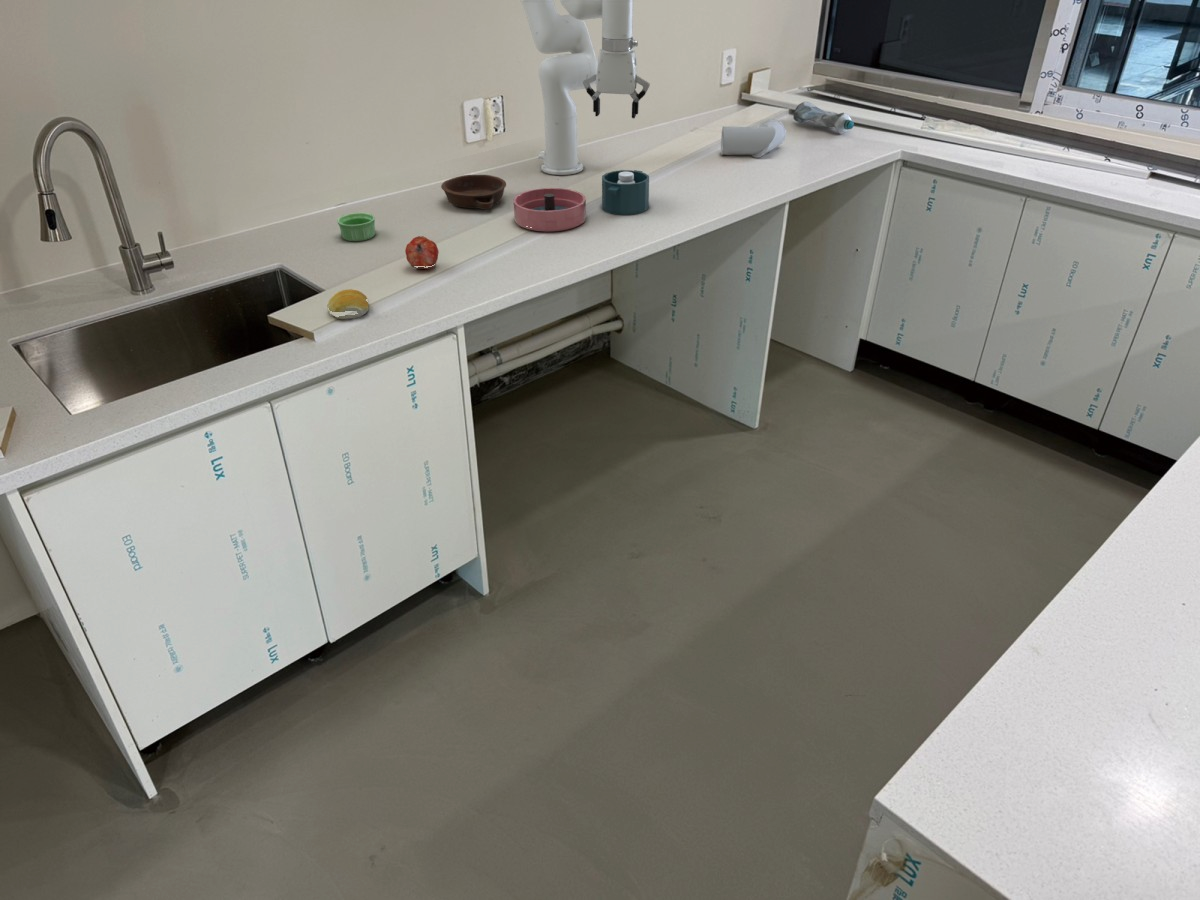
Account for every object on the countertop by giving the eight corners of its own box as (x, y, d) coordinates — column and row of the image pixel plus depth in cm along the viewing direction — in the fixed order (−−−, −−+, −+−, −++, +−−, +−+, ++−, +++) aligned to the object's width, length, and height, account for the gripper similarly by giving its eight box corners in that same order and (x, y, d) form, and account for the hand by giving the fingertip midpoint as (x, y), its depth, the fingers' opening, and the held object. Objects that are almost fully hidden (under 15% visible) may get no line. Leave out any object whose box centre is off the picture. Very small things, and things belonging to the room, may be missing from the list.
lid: (515, 223, 215) (513, 199, 212) (539, 207, 225) (538, 184, 222) (561, 230, 210) (560, 206, 207) (584, 213, 220) (584, 190, 217)
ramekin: (343, 230, 213) (340, 213, 211) (379, 228, 214) (376, 211, 211) (337, 243, 206) (334, 225, 203) (374, 241, 207) (372, 224, 204)
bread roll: (367, 299, 179) (364, 281, 177) (371, 317, 172) (368, 299, 170) (327, 304, 177) (323, 286, 175) (329, 322, 170) (325, 304, 168)
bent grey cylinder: (765, 160, 255) (791, 145, 269) (761, 124, 250) (788, 110, 264) (713, 165, 265) (740, 150, 279) (708, 130, 261) (736, 116, 274)
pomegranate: (410, 271, 197) (395, 260, 187) (417, 241, 197) (402, 228, 187) (440, 277, 196) (426, 266, 186) (447, 246, 196) (434, 233, 186)
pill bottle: (633, 208, 223) (633, 176, 219) (615, 207, 224) (615, 175, 219) (636, 202, 227) (636, 171, 222) (619, 201, 228) (619, 170, 223)
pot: (590, 214, 221) (589, 184, 217) (617, 194, 235) (617, 165, 230) (633, 220, 217) (634, 190, 213) (658, 200, 230) (659, 170, 226)
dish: (454, 219, 219) (452, 200, 217) (434, 194, 236) (432, 176, 233) (518, 209, 225) (517, 191, 222) (494, 186, 242) (492, 168, 239)
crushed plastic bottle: (785, 122, 297) (832, 137, 278) (789, 101, 293) (837, 114, 275) (814, 121, 302) (862, 136, 284) (818, 100, 299) (867, 113, 280)
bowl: (500, 222, 217) (498, 201, 214) (548, 203, 229) (547, 183, 226) (552, 238, 207) (551, 216, 204) (600, 218, 219) (600, 197, 216)
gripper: (653, 43, 212) (650, 114, 222) (585, 40, 215) (585, 110, 225) (649, 49, 206) (646, 121, 217) (580, 46, 209) (580, 118, 219)
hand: (615, 116), depth 221 cm, fingers open, 9 cm apart
